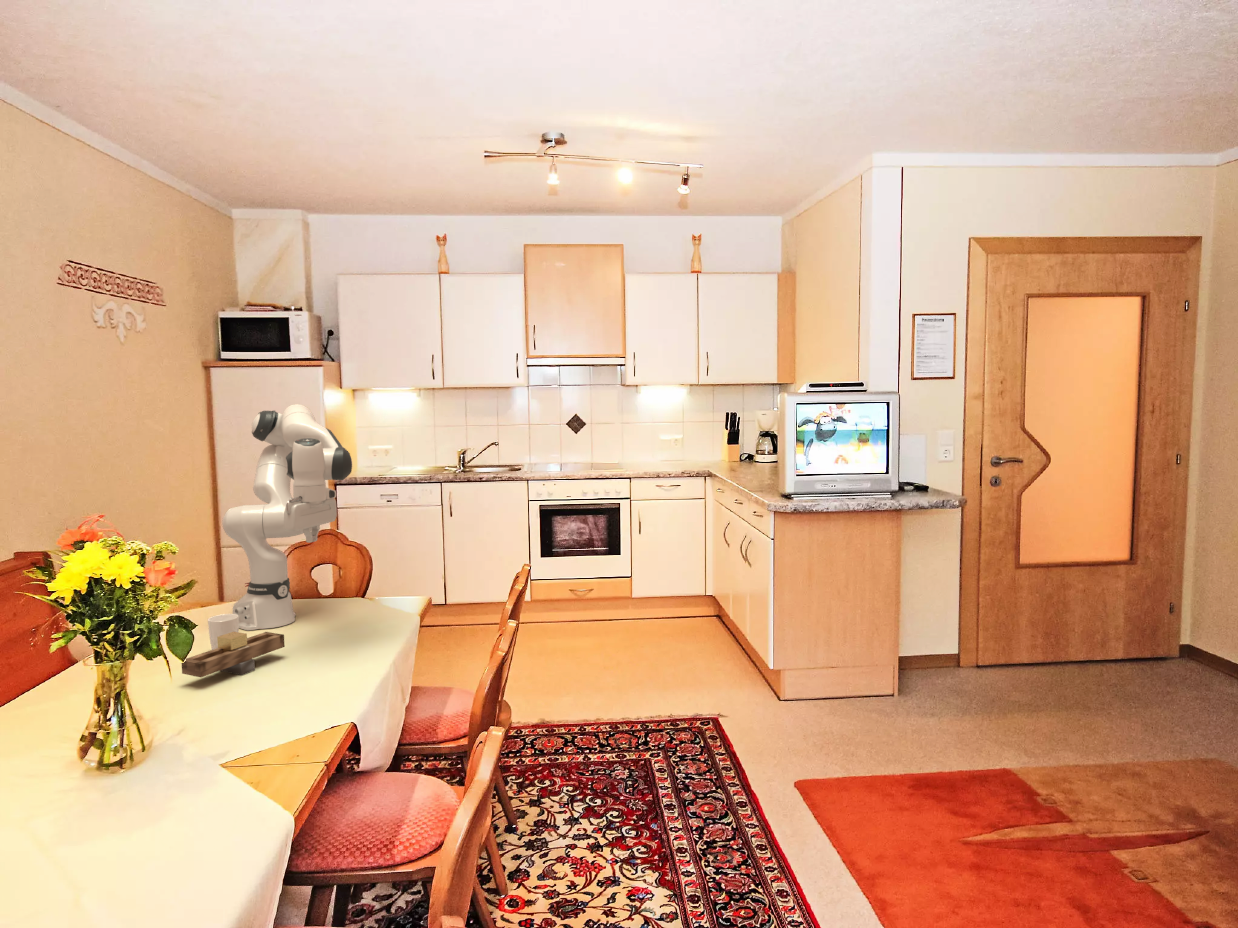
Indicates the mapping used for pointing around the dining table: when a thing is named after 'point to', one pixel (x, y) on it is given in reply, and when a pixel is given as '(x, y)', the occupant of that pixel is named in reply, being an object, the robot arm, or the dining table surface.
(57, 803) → the dining table surface
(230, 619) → the white cup
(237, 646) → the rider
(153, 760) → the dining table surface
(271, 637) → the beam
